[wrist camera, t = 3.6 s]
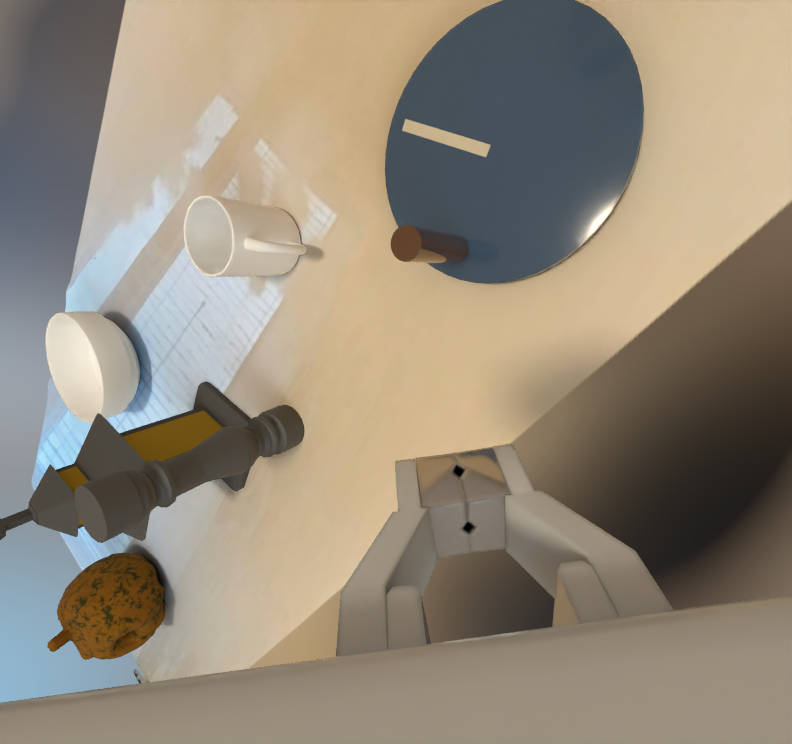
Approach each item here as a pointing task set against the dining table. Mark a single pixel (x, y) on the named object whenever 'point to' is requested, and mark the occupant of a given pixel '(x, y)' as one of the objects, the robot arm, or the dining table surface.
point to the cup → (240, 238)
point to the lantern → (127, 460)
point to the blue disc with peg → (513, 140)
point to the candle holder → (182, 472)
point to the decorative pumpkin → (111, 607)
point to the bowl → (91, 364)
